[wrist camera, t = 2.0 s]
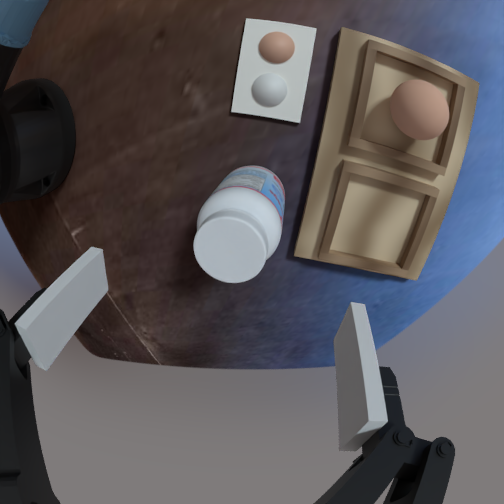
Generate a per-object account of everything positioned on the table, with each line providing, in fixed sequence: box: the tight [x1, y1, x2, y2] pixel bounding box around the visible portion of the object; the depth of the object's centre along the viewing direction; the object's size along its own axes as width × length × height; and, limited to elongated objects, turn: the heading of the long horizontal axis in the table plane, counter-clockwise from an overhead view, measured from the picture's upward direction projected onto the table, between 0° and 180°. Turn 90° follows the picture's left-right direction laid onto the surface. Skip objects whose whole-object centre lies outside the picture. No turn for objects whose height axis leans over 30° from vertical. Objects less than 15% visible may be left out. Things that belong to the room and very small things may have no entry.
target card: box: [231, 19, 316, 123], centre depth 21 cm, size 6×9×1 cm, turn 171°
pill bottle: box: [193, 166, 285, 283], centre depth 23 cm, size 6×6×11 cm
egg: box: [390, 79, 449, 140], centre depth 18 cm, size 5×5×5 cm
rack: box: [294, 27, 479, 280], centre depth 23 cm, size 14×22×2 cm, turn 171°
